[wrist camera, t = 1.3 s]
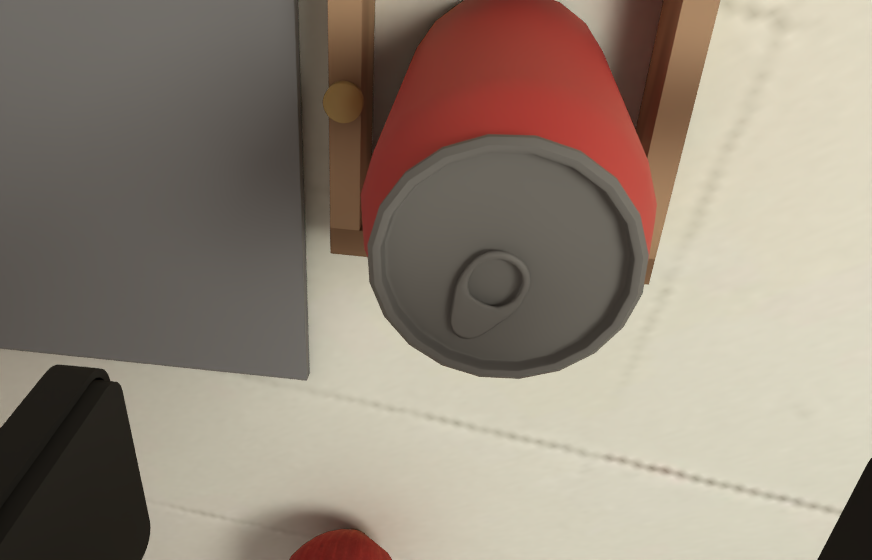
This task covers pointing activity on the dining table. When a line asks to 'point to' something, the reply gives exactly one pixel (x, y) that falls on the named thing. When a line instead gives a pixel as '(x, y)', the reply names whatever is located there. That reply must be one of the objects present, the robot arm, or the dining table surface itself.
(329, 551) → the onion
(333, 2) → the frame
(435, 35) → the beer can
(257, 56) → the mat
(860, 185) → the dining table surface
